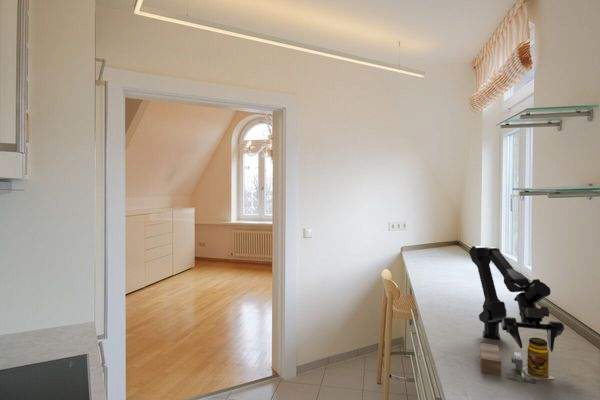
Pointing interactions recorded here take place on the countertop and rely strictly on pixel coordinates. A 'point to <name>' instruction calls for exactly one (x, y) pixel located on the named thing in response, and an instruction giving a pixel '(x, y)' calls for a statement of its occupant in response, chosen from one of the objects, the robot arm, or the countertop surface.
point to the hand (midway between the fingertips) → (536, 349)
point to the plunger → (517, 362)
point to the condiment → (537, 359)
